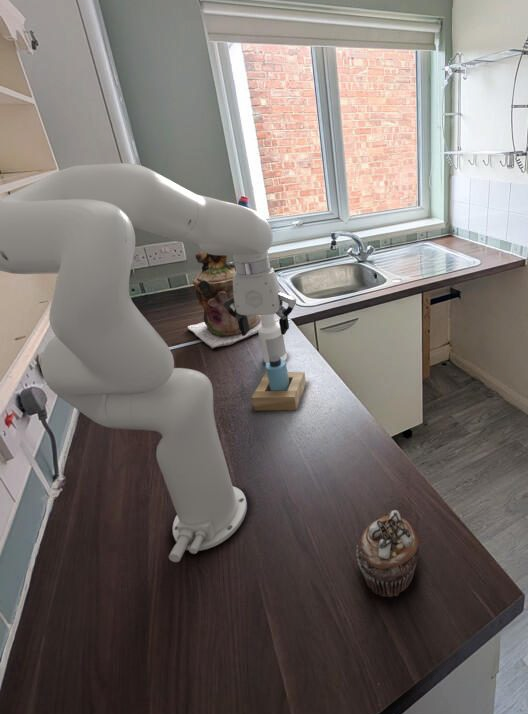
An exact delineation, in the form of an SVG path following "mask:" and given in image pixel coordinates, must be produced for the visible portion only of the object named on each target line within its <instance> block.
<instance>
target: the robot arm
mask: <svg viewBox="0 0 528 714" xmlns="http://www.w3.org/2000/svg"><path fill="white" fill-rule="evenodd" d="M135 229H138V230H141V231H145V232H147V233H150V234H153V235H155V236H159V237H163V238H166V239H169V240H172V241H174V242H178V243H185V244H193V245H198V246H199V248H200V249H201V251H202V250H203V251H204V252H206V253H208V254H211V255H227V256H232V258H233V260H232V261H230V262H228V263H229V266H230V268H231V267H233V268H235V271H236V272H235V273H234V274H233V294H234V296H233V297H232V298H230V299H228V300H227V301H225V302H224V303H223V305H224V307H225V308H226V309H227V310H228V312H229V314H231V315H232V316H233V317H235V320H236V321H238V324H239V329H240V331H241V333H242V336H245V335H246V334H247V333H248V331H249V324H248V319H247V317H246V315H270V314H274V315H276V316H278V317H279V319H278V323H279V324H280V329H281V334H282V335H283V336H284V335H286V333H287V331H288V330H289V329H290V323H289V318H288V317H289V315H291V313H292V312H293V310H294V308H295V306H296V303H297V299H296V298H294V297H292V296H290V295H287V294H285V293H283V292H282V291H281V287H280V286H281V285H280V283H279V280H278V277H277V274H276V272H275V270H274V268H273V267H271V263H270V262H271V261H270V256H269V252H268V251H269V250H270V249H271V247H272V244H273V238H274V236H273V230H272V227H271V225H270V223H269V222H268V220H266V218H265V217H264V216H262V214H261V212H259V211H257V210H254V209H252V208H249V207H246V206H243V205H240V204H236V203H233V202H229V201H225V200H221V199H216V198H213V197H209V196H205V195H200V194H197V193H195V192H193V191H191V190H189V189H187V188H186V187H184V186H182V185H180V184H178V183H176V182H174V181H173V180H171V179H169V178H167V177H165V176H164V175H161V174H160V173H158V172H156V171H154V170H152V169H150V168H148V167H146V166H143V165H140V164H136V163H131V162H130V163H129V162H117V163H116V162H115V163H102V164H101V163H100V164H99V163H98V164H97V163H96V164H81V165H73V166H69V167H66V168H63V169H60V170H59V171H55V172H54V173H51V174H49V175H47V176H45V177H43V178H40V179H39V180H36V181H35V182H32V183H31V184H29V185H26V186H25V187H22V188H20V189H18V190H16V191H14V192H12V193H9V194H7V195H6V196H3V197H2V198H0V272H4V273H7V274H8V273H9V274H14V275H15V274H16V275H43V274H44V275H53V274H57V277H56V282H55V285H54V290H53V296H52V299H51V302H50V303H51V304H50V308H49V314H48V315H49V317H48V319H49V326H50V328H51V330H52V332H53V334H54V335H55V336H54V337H52V339H50V341H49V342H48V343H47V344H46V346H45V347H44V349H43V352H42V355H41V360H40V366H41V367H40V368H41V374H42V377H43V379H44V381H45V383H46V385H47V386H48V388H49V389H50V390H51V391H52V392H53V393H54V394H55V395H57V396H58V397H59V398H60V399H62V400H63V401H64V402H66V403H67V404H69V406H71V407H73V408H74V409H75V410H77V411H78V412H79V413H82V414H83V415H84V416H85V417H87V418H88V419H90V421H93V422H94V423H96V424H98V425H99V426H102V427H105V428H108V429H115V430H132V431H133V430H135V431H147V432H148V431H150V432H157V433H159V434H160V435H161V439H160V440H159V441H158V444H157V446H156V451H155V456H156V461H157V465H158V467H159V470H160V472H161V475H162V477H163V480H164V483H165V486H166V488H167V491H168V494H169V496H170V499H171V503H172V505H173V508H174V510H175V514H176V515H175V517H174V520H173V523H172V536H173V538H174V541H175V544H174V545H173V547H172V549H171V551H170V553H169V554H168V559H169V560H170V561H171V562H172V563H178V562H180V561H181V560H182V557H183V556H184V554H185V552H186V551H189V553H190V554H193V555H195V554H197V553H198V552H199V551H200V552H201V551H206V550H209V549H211V548H215V547H216V546H218V545H220V544H222V543H224V542H225V541H226V540H228V539H229V538H230V537H231V536H233V534H234V533H236V532H237V531H238V529H239V528H240V527H241V525H242V523H243V521H244V520H245V517H246V514H247V511H248V502H247V498H246V496H245V493H244V492H243V491H242V490H241V489H240V488H238V487H236V486H233V483H232V478H231V476H230V472H229V469H228V464H227V461H226V458H225V453H224V450H223V446H222V443H221V440H220V436H219V433H218V429H217V424H216V419H215V412H214V411H215V409H214V389H213V385H212V382H211V380H210V379H209V378H208V376H207V375H205V373H202V371H199V370H197V369H190V368H184V367H175V360H174V356H173V355H174V354H173V352H172V351H171V349H170V346H168V344H167V342H165V340H164V339H163V338H162V336H161V335H160V334H159V333H158V332H157V330H156V329H155V328H154V327H153V325H152V324H151V323H150V322H149V321H148V320H147V318H146V317H145V316H144V315H143V313H141V311H140V310H139V309H138V307H137V305H135V303H134V302H133V300H132V298H131V294H130V276H131V271H132V264H133V260H134V256H135V249H136V233H135ZM233 303H235V307H233V305H232V304H233ZM284 303H286V304H288V306H287V307H286V308H285V307H284V306H283V304H284Z"/></svg>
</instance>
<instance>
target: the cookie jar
mask: <svg viewBox="0 0 528 714" xmlns="http://www.w3.org/2000/svg"><path fill="white" fill-rule="evenodd" d="M227 258H228V255H211V254H208V253H206V252H204V251H203V250H202V249H201V251H199V252H197V253H195V259H196V261H197V263H198V264H202V266H201V270H200V271H199V272H198V273H197V275H196V276H195V277H194V278H193V280H192V284H193V286H194V288H195V297H196V300H197V301H198V304H199V306H201V307H202V308H203V322H202V321H201V322H199V323H196V324H190V325H188V326H187V329H188V330H189V331H191V332H192V333H193V334H194V335H195V336H196V337H198V338H199V339H200V340H201V341H202V342H204V343H205V344H206V345H207V346H208V347H210V348H211V349H212V350H213V349H215V348H219V347H224V346H230V345H233V344H235V343H237V342H239V341H241V340H244V339H247V338H249V337H251V336H253V335H255V334H257V333H258V328H259V327H260V326H261V325H262V323H261V317H260V315H246V317H247V319H248V324H249V331H248V333H247V334H246V335H245V336H242V333H241V331H240V329H239V324H238V321H236V320H235V317H233V316H232V315H231V314H229V312H228V310H227V309H226V308H225V307H224V305H223V303H224V302H225V301H227V300H228V299H230V298H232V297H233V296H234V294H233V274H234V273H235V272H236V271H235V268H233V267H231V268H230V266H229V262H227ZM232 305H233V307H235V303H233V304H232ZM275 320H276V322H277V323H279V318H277V317H275Z"/></svg>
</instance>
